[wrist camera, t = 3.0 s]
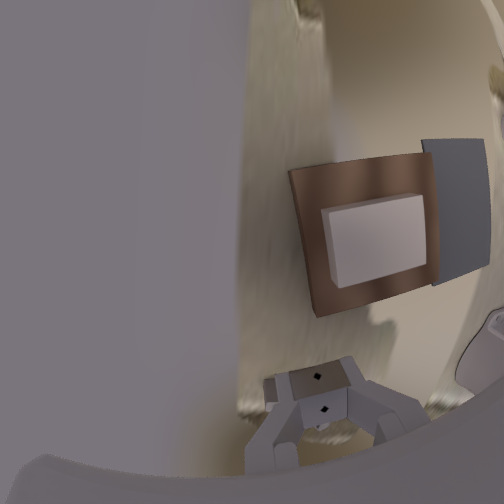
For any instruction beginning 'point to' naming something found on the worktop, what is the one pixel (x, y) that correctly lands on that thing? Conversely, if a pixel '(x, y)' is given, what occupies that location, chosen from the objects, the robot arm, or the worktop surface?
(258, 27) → the worktop surface
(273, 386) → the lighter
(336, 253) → the tile
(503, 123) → the foam cup
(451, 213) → the mat
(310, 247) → the plate
